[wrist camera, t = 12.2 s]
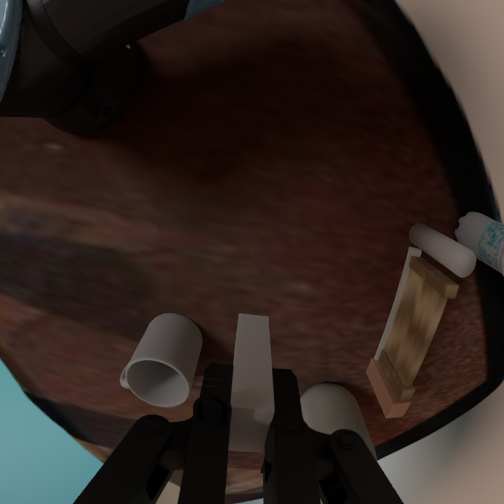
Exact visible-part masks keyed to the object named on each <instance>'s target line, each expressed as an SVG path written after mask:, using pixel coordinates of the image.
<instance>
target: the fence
mask: <svg viewBox="0 0 504 504" xmlns="http://www.w3.org/2000/svg"><path fill="white" fill-rule="evenodd" d="M409 240H410V241H411V243H412V244H414V245H415V246H417V247H418V248H414V247H409V250H408V254H407V258H406V262H405V265H404V269H403V273H402V276H401V280H400V283H399V287H398V290H397V293H396V297H395V300H394V303H393V306H392V309H391V312H390V315H389V318H388V321H387V324H386V327H385V330H384V333H383V336H382V338H381V341H380V344H379V347H378V349H377V352H376V355H375V357H374V358H371V361H370V363H369V366H368V368H367V371H366V373H367V376H368V378H369V380H370V383H371V385H372V387H373V389H374V392H375V394H376V396H377V399H378V401H379V404H380V406H381V408H382V411H383V413H384V416H385V418H396V417H403V416H404V414H405V413H406V411H407V409H408V407H409V406H410V404H411V401H410V400H408V401H399V399H398V397H397V395H396V393H395V391H394V389H393V387H392V385H391V383H390V381H389V379H388V377H387V375H386V373H385V371H384V369H383V367H382V366H381V364H380V362H379V360H378V359H379V356H380V354H381V351H382V349H384V347H385V345H386V342H387V339H388V336H389V334H390V331H391V328H392V325H393V322H394V319H395V316H396V313H397V310H398V307H399V304H400V301H401V297H402V294H403V291H404V287H405V284H406V281H407V277H408V273H409V270H410V268H409V263H410V259H411V256H416V257H420V256H421V252H422V250H423V251H424V252H425V253H427V254H428V255H430V256H431V257H433V258H434V259H435V260H437V261H438V262H440V263H441V264H442V265H444V266H445V267H447V268H448V269H449V270H451V271H452V272H453V273H455V274H456V275H457V276H459V277H461V278H464V277H467V276H468V275H470V274H471V273H472V271H473V270H474V268H475V265H476V255H475V253H474V252H473V251H472V250H470V249H468V248H466V247H465V246H463V245H461V244H459V243H458V242H456V241H454V240H452V239H450V238H449V237H447V236H445V235H443V234H441V233H439V232H437V231H436V230H434V229H432V228H430V227H428V226H426V225H424V224H422V223H416V224H414V225H413V226H412V227H411V229H410V231H409Z"/></svg>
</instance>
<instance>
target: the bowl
mask: <svg viewBox="0 0 504 504" xmlns="http://www.w3.org/2000/svg"><path fill="white" fill-rule="evenodd" d="M183 470H184V469H182V470H175V471H174V472H173V474H172V476H171V478H170V480H169V481H168V483H167V485H166V487H165V488H164V490H163V492H162V493H161V495H160V497H159V499H158V500H157V502H156V504H177V503H178V497H179V492H180V486H181V481H182V475H183Z"/></svg>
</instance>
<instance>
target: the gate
mask: <svg viewBox="0 0 504 504" xmlns="http://www.w3.org/2000/svg"><path fill="white" fill-rule="evenodd" d="M409 268H410V270H409V273H408V277H407V281H406V284H405V287H404V291H403V294H402V297H401V301H400V304H399V307H398V310H397V313H396V316H395V319H394V322H393V325H392V328H391V331H390V334H389V336H388V339H387V342H386V345H385V347H384V349H382V351H381V354H380V356H379V359H378V360H379V362H380V364H381V366H382V367H383V369H384V371H385V373H386V375H387V377H388V379H389V381H390V383H391V385H392V387H393V389H394V391H395V393H396V395H397V397H398V399H399V401H408V400H410V399H411V398H412V396H413V394H414V392H415V388H414V386H413V384H412V383H413V381H414V379H415V377H416V375H417V373H418V370H419V368H420V366H421V364H422V362H423V360H424V357H425V355H426V353H427V351H428V348H429V346H430V344H431V341H432V339H433V336H434V334H435V331H436V329H437V326H438V324H439V321H440V318H441V316H442V313H443V310H444V308H445V305H446V302H447V299H448V298H452V299H455V297H456V294H457V291H458V288H459V286H458V285H457V284H456V283H455V282H453V281H452V280H451V279H449V278H448V277H447V276H446V275H444V274H443V273H442V272H440V271H439V270H438V269H437V268H435V267H434V266H433V265H431V264H430V263H429V262H427V261H426V260H425V259H423V258H422V257H416V256H411V259H410V263H409Z"/></svg>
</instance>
